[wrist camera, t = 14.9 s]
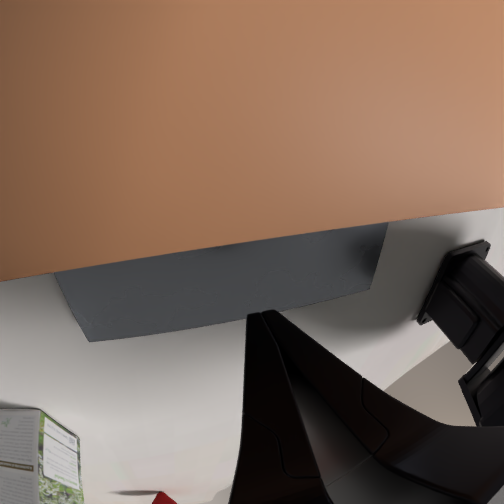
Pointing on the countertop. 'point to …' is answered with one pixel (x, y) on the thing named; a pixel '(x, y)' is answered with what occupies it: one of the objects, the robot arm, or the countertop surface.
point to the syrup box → (38, 460)
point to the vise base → (220, 282)
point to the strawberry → (163, 499)
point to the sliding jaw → (239, 122)
